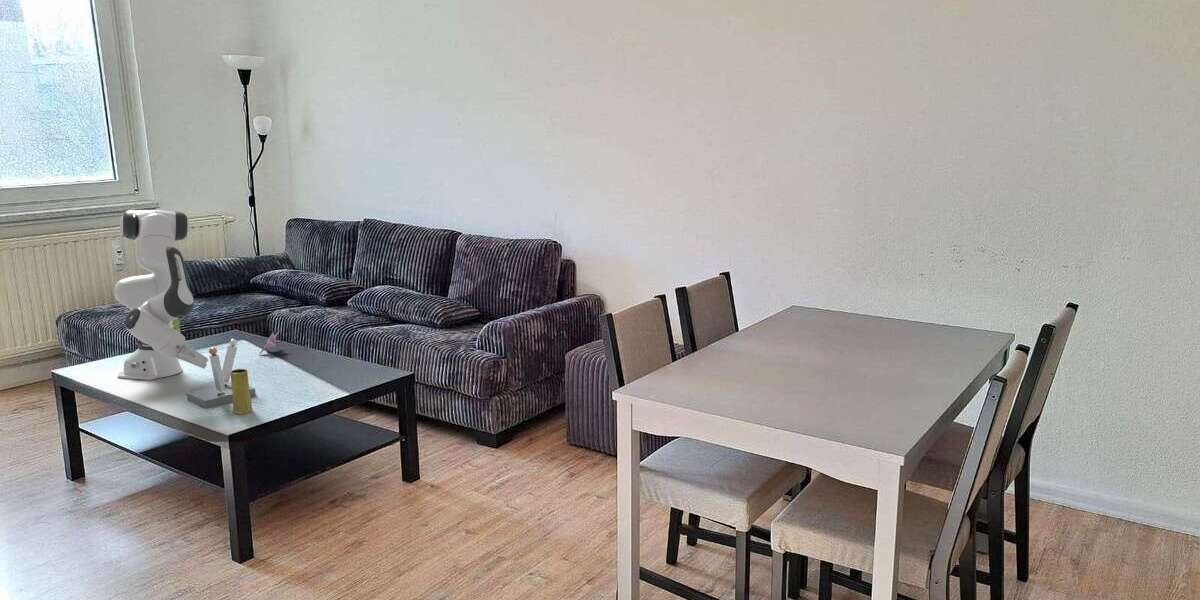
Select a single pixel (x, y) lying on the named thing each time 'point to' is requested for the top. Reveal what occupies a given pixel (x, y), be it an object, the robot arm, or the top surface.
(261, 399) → the top surface
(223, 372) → the switch
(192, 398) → the console
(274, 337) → the lily
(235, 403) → the vase
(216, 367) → the switch
